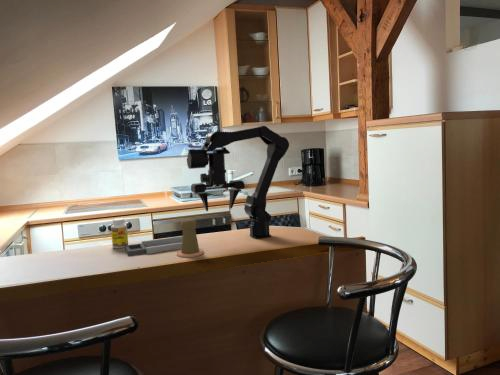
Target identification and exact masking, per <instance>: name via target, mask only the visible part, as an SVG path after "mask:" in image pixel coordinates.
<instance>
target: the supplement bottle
mask: <svg viewBox="0 0 500 375" xmlns="http://www.w3.org/2000/svg"><path fill="white" fill-rule="evenodd" d="M110 229H111V244H112V247H113V248H114V249H123V248H124V249H125V245H129V238H128V236H129V235H128V225H127V224H126V223H125V218H121V217H120V218H118V217H117V218H114V219H113V218H112V225H111V226H110Z"/></svg>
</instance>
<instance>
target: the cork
mask: <svg viewBox="0 0 500 375" xmlns="http://www.w3.org/2000/svg"><path fill="white" fill-rule="evenodd" d="M180 227H181V228H180V229H182V235H181V236H182V249H180V250H181V253H183V254H194V253H198V252H199V249H200V248H199V247H200V246H199V240H198V236H197V232H196V228H197V220H196V219H194V218H185V219H183V220H181V222H180Z"/></svg>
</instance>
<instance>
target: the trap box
mask: <svg viewBox="0 0 500 375" xmlns="http://www.w3.org/2000/svg"><path fill="white" fill-rule="evenodd" d="M124 249H125V252H126V254H127V256H129V257H130V256H135V255H143V254H147V252H146V247H145V246H144V245H143V244H142V242H140V243H135V244H128V245H125V247H124Z"/></svg>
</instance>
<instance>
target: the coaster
mask: <svg viewBox="0 0 500 375" xmlns="http://www.w3.org/2000/svg"><path fill="white" fill-rule="evenodd" d="M181 250H182V249H178V250H177V251H176V256H177V257H180V258H193V257H194V258H195V257H198V256H202V255H203V254H204V253H205V252H204V249H202V248H199V252H198V253H194V254H183V253H181Z"/></svg>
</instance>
